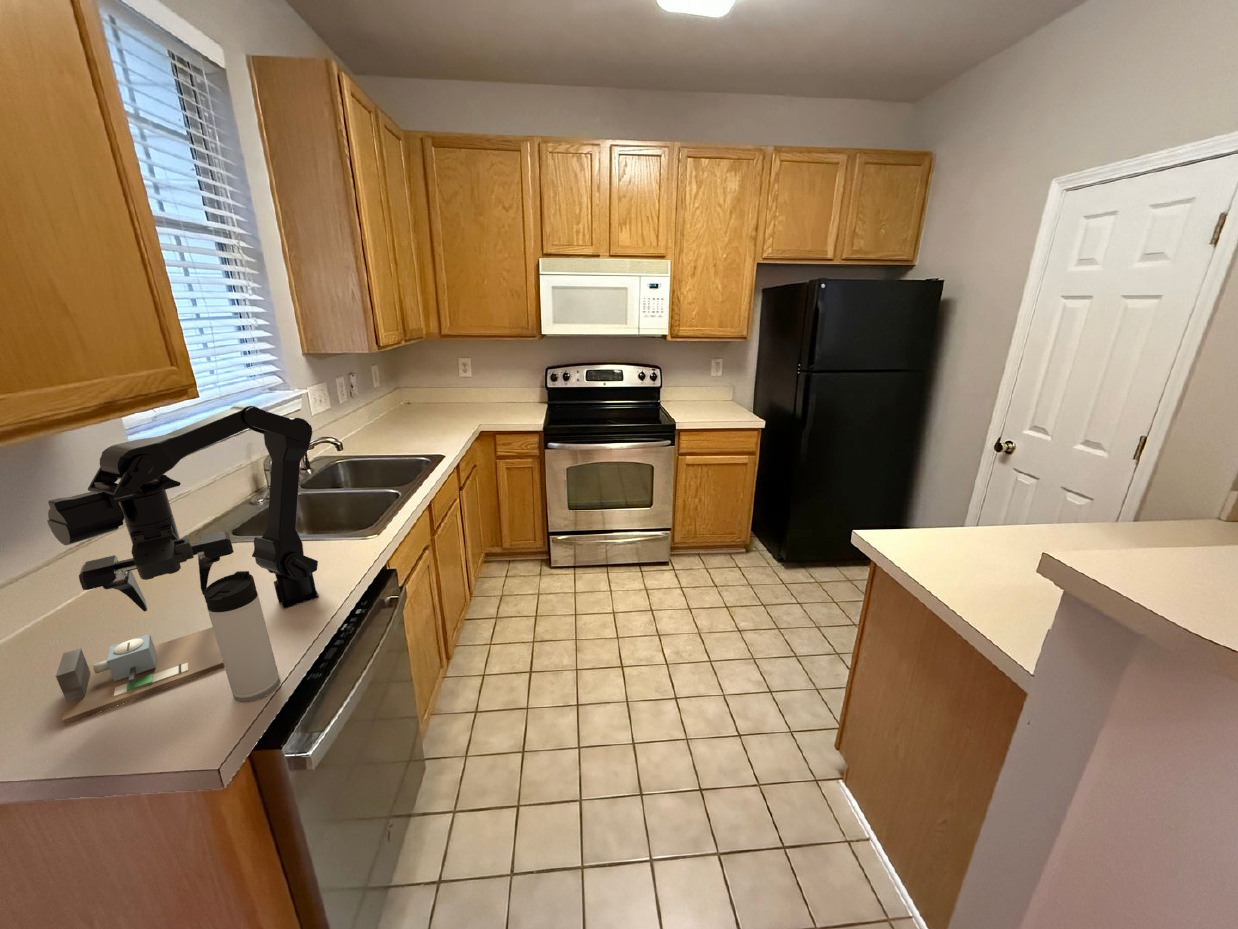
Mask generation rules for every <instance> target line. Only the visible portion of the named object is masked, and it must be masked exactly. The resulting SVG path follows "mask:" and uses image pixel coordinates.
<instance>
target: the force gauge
mask: <svg viewBox="0 0 1238 929" xmlns="http://www.w3.org/2000/svg"><path fill="white" fill-rule="evenodd" d="M154 646H155V645H154V643H153V638H152V636H151V633H148V634H145V635H142V636H138V637H135V638H132V639H131V638H130V639H129V640H126V641H122V642H118V643H115V644H112V645H109V649H108V652H107V653H108V654H107V658H106V659H105V660H102V661H100V662H97V663H94V664H92V665H93V667H94V671H95V673H96V674H97V673H100V672H103V671H106V670H109V669H110V671H111V673H112V676H113V679H114V681H117V680H120V679H123V678H126V677H129V683H131V682H134V681H135V675H136V674H138V673H141V672H144V671H147V670H150V669H153V668H155V667H156V650H155V647H154Z"/></svg>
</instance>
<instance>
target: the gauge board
mask: <svg viewBox="0 0 1238 929" xmlns="http://www.w3.org/2000/svg"><path fill="white" fill-rule="evenodd" d="M154 647H155V650H156V667H155V668H153V669H150V670H147V671H144V672H141V673H138V674H136V675H135V681H134V682H131V683H129V677H126V678H123V679H120V680H117V681H114V679H113V676H112V673H111V671H110V669H109V670H106V671H103V672H100V673H97V674H96V673H95V671H94V667H93V665H94V664H92V665H90V666H89V665H88V662H87V660H86V657H85V655H84V652H83V650H82V648H81V647H80V648H77V649H73V650H69V651H67V652H64V653H62V656H61V659H60V662H59V665H58V669H57V671H56V674H55V678H56V681H57V682H58V685H59V687H60V689H61V693H62V694H63V697H64V699H65V701H66V704H65V708H64V712H63V715H62V719H61V721H62V723H63V726H66V725H68V724H71V723H75V722H77V721H79V720H80V721H81V720H82V719H85V718H89V717H91V716H94V715H96V713H97V714H99V713H98V712H100V711H102V712H105V711H107V709H108V710H110V709H109V708H111V709H113V708H116V707H118V706H117V705H119V706H121V704H122V705H124V704H126V702H127V703H130V702H132V701H131V700H133V701H135V700H134V699H136V700H138V699H140V698H144V697H146V696H149V695H151V693H152V694H154V693H157V692H160V691H163V690H167V689H168V688H167V687H169V688H171V687H174V686H177V685H179V684H182V683H185V682H187V681H190V680H193V679H196V678H198V677H201V676H204V675H207V674H210V673H213V672H216V671H218V670H220V669H221V670H222V669H223V668H224V669H225V667H224V663H223V660H222V657H221V653H220V650H219V647H218V643H217V640H216V636H215V633H214V630H213V626H211V627H209V628H205V629H202V630H199V631H196V632H193V633H190V634H186V635H183V636H180V637H177V638H174V639H171V640H168V641H164V642H162V643H159V644H158V643H157V644H156V645H154ZM162 689H163V690H162ZM148 694H149V695H148ZM143 696H144V697H143ZM129 701H130V702H129ZM123 703H124V704H123ZM115 706H116V707H115ZM112 707H113V708H112ZM100 713H101V712H100ZM93 714H94V715H93Z"/></svg>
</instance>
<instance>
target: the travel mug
mask: <svg viewBox="0 0 1238 929" xmlns="http://www.w3.org/2000/svg"><path fill="white" fill-rule="evenodd" d="M203 597H204V600H205V603H206V607H207V608H206V609H207V612H208V616H209V620H210V622H211V627H213V630H214V633H215V636H216V640H217V643H218V647H219V650H220V653H221V657H222V660H223V663H224V670H225V673H226V677H227V680H228V684H229V687H230V691H231V694H232V697H233V699H234V700H235V701H236V702H238V703H241V704H242V703H243V704H247V703H251V702H257V701H259V700H262V699H264V698H265V697H267V696H269V695H271V694H272V693H273V692H274V691H275V690H276V689H277V688H278V687H279V685H280V683H281V678H280V674H279V671H278V667H277V666H278V665H277V664H276V659H275V656H274V651H273V648H272V644H271V639H270V635H269V631H268V628H267V625H266V620H265V616H264V612H263V608H262V605H261V601H260V597H259V593H258V591H257V586H256V583H255V578H254V576H253V575H252V574H251V573H250V571H249V570H239V571H236V572H234V573H233V574H229V575H227V576H224V577H221V578H218V579H217V580H215V581H213V582H212V583H210V584H209V585H207V588H206V589H205V591H204V595H203Z"/></svg>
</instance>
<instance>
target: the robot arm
mask: <svg viewBox="0 0 1238 929" xmlns="http://www.w3.org/2000/svg"><path fill="white" fill-rule="evenodd" d="M309 423H310V422H308V421H307V420H305V419H304V418H302V417H301V418H300V417H295V416H287V415H280V414H276V413H273V412H270V411H267V410H263V409H261V408H259V407H257V406H255V405H246V404H235V405H233V406H231V407H230V408H229V409H226V410H223V411H221V412H219V413H216V414H214V415H210V416H209V417H206V418H204V419H202V420H199V421H196V422H194V423H190V424H187V425H186V426H184V427H181V428H178V429H175V430H173V431H171V432H168V433H166V434H161V435H157V436H153V437H145V438H139V439H135V440H128V441H125V442H121V443H116V444H113V445H111V446H109V447H107V448H105V449H104V450H103V451H102V452H101V456H100V457H99V466H100V467H99V468H98V470H97V472H96V473H95V475H94V477H93V478H92V480H91V482H90V484H89V486H88V487H87V492H85V493H80V494H77V495H71V496H66V497H59V498H54V499H50V500H48V501H47V503H48V505H49V510H48V512H47V517H48V519H47V525H48V526H49V529H50V530H51V532H52V535H54V537H55V538H56V539H57V541H58V542H59V543H61V544H62V545H64V546H69V545H72V544H73V545H74V544H76V543H79V542H83V541H86V540H89V539H92V538H96V537H98V536H103V535H106V534H109V533H113V532H115V531H118V530H119V527H121V526H123V525H124V523H125V526H126V529H127V531H128V535H129V538H130V541H131V544H132V545H131V546H132V547H131V555H132V558H127V559H122V560H120V561H119V559H118V556H116V555H115V554H114V555H110V556H106V557H101V558H97V559H92V560H87V561H86V562H84V564H83V565H82V566H81V568H80V571H79V574H78V579H79V583H80V586H81V589H82V590H83V591H88V590H89V591H90V590H92V589H93V590H94V589H97V588H103V589H104V590H110V589H111V590H113V589H114V590H117V591H119V592H121V593H122V594H124V595H126V596H127V597H128V598H129V599H130V600H131V601H132V602H134V603H135V605H136V606H138V607H139V609H141V610H142V611H143V612H147V611H148V606H147V601H146V598H145V596H144V594H143V592H142V590H141V588H140V586H139V584H138V582H137V580H136V577H135V576H134V573H133V571H135V570H137V572H138V575H139V578H140V579H141V580H145V581H148V580H152V579H154V578H156V577H159V576H163V575H171V574H175V573H177V572H179V571H180V569H181V568H182V567H181V564H182V563H185V562H188V560H191V559H194V558H195V557H194V556H196V555H197V560H198V563H197V564H198V572H199V583H200V590H201V593H202V595H203V596H204V591H205V589H206V588H207V587H208V581H209V574H210V571H211V568H212V566H213V565H214V563H217V562H219V561H220V560H221V557H226V556H229V555H231V554H234V547H233V544H232V541H231V540H232V539H231V536H230V533H229V532H227V531H226V530H221V531H218V532H212V533H208V534H205V535H201V536H200V540H201V541H200V542H197V543H191V541H190V539H189V537H185V538H180V534H179V531H178V527H177V524H176V521H175V518H174V514H173V511H172V508H171V505H170V500H169V497H168V493H167V490H169V489H172V488H176V487H180V486H181V482H180V481H178V480H175V479H172V478H170V477H169V476H168V475H166V473H168V472H170V470H172V469H173V468H175V466H177V464H179V462H180V461H181V460H183V459H184V458H186V457H187V456H190V455H191V454H194V453H195V452H198V451H201V450H203V449H205V448H208V447H210V446H212V445H214V444H217V443H219V442H221V441H223V440H226V439H227V438H229V437H233V436H235V435H237V434H239V433H241V432H243V431H246V430H251V431H253V432H256V433H258V434H261V435H263V439H264V440H263V441H264V446H265V448H266V450H267V452H268V455H269V457H270V460H271V468H270V469H271V470H270V483H269V498H268V499H269V501H268V515H267V516H268V517H267V528H266V530H265V531H264V533H263V535H262V536H261V537H257V536H255V537H254V538H253V547H254V549H253V553H252V554H251V557H253V558H254V559H255V563H256V565H258V566H259V567H260V568H261V569H265V570H267V572H269V574H270V573H271V574H274V576H275V580H274V581H273V586H274V590H275V594H276V598H277V601H278V603H279V604H281V605H282V607H283V609H286V608H291V607H294V606H296V605H299V604H303V603H306V602H308V601H312V600H315V599H318V598H320V595H319V593H318V591H317V588H316V583H315V579H314V575H313V574H314V572H316V571H318V566H319V564H318V563H319V561H318V560H316V559H314V558H311V557H308V556H307V555H305V554H304V552H305V551H304V544H303V541H302V539H301V536H300V535H299V533H298V531H297V516H298V502H299V500H298V499H299V488H300V487H299V485H300V473H301V472H300V470H301V461H302V459H303V458H304V457H305V455H306V453H307V452H308V450H309V449H310V445H311V441H312V437H313V427H312V425H311V424H309ZM118 480H119V481H118ZM117 481H118V483H117Z"/></svg>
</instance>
